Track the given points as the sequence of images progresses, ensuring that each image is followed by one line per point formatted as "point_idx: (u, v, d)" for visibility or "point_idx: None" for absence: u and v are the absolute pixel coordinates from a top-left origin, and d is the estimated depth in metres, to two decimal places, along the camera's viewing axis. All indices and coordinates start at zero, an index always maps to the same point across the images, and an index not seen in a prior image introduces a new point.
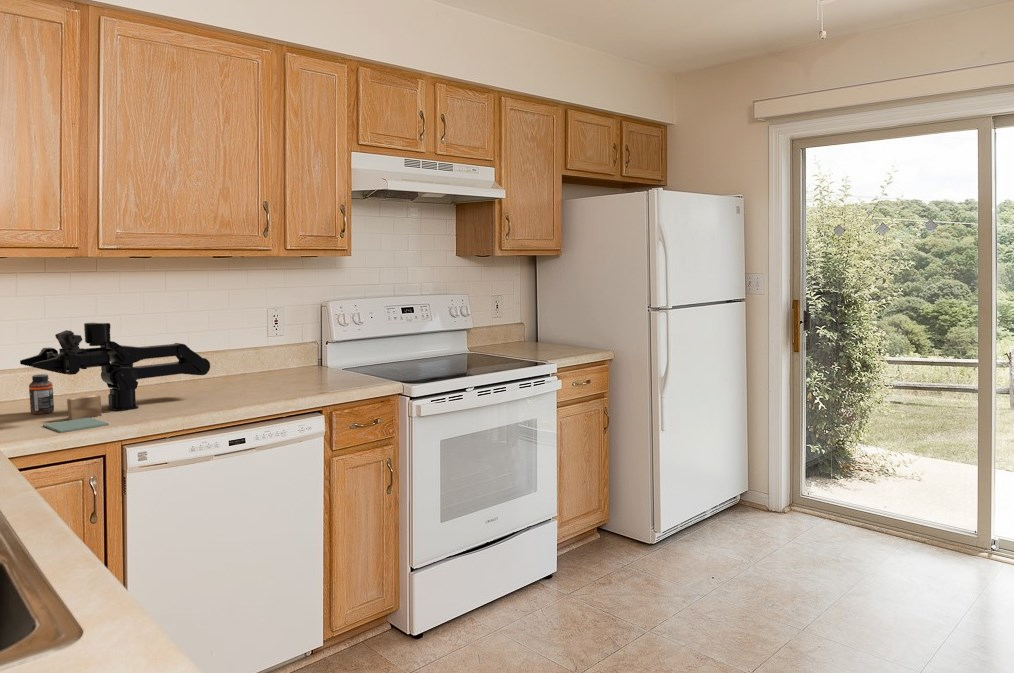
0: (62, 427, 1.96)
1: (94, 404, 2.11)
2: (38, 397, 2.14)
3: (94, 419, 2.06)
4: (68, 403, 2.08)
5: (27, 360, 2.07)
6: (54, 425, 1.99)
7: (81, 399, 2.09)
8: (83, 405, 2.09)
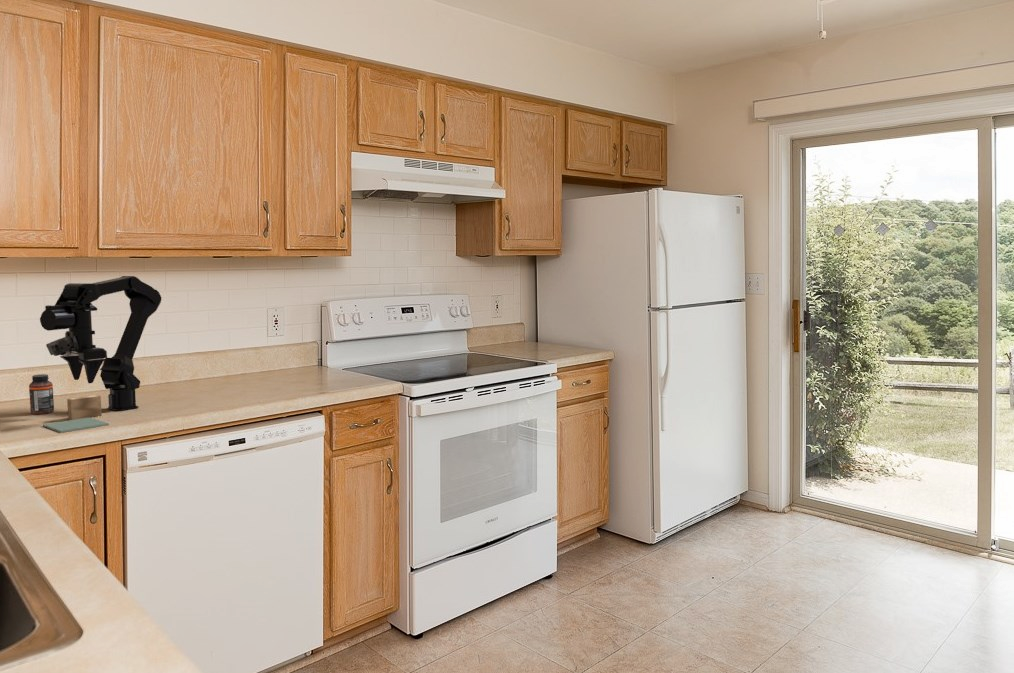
0: (62, 427, 1.96)
1: (94, 404, 2.11)
2: (38, 397, 2.14)
3: (94, 419, 2.06)
4: (68, 403, 2.08)
5: (75, 374, 2.12)
6: (54, 425, 1.99)
7: (81, 399, 2.09)
8: (83, 405, 2.09)
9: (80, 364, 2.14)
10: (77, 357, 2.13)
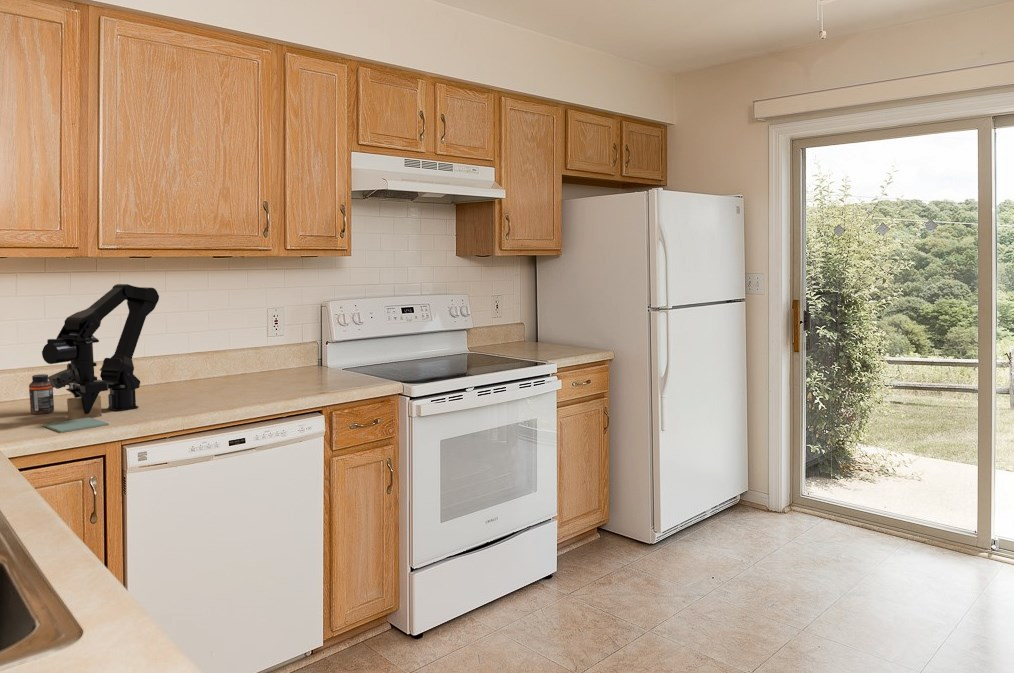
0: (62, 427, 1.96)
1: (94, 404, 2.11)
2: (38, 397, 2.14)
3: (94, 419, 2.06)
4: (68, 403, 2.08)
5: None
6: (54, 425, 1.99)
7: (81, 399, 2.09)
8: None
9: None
10: None
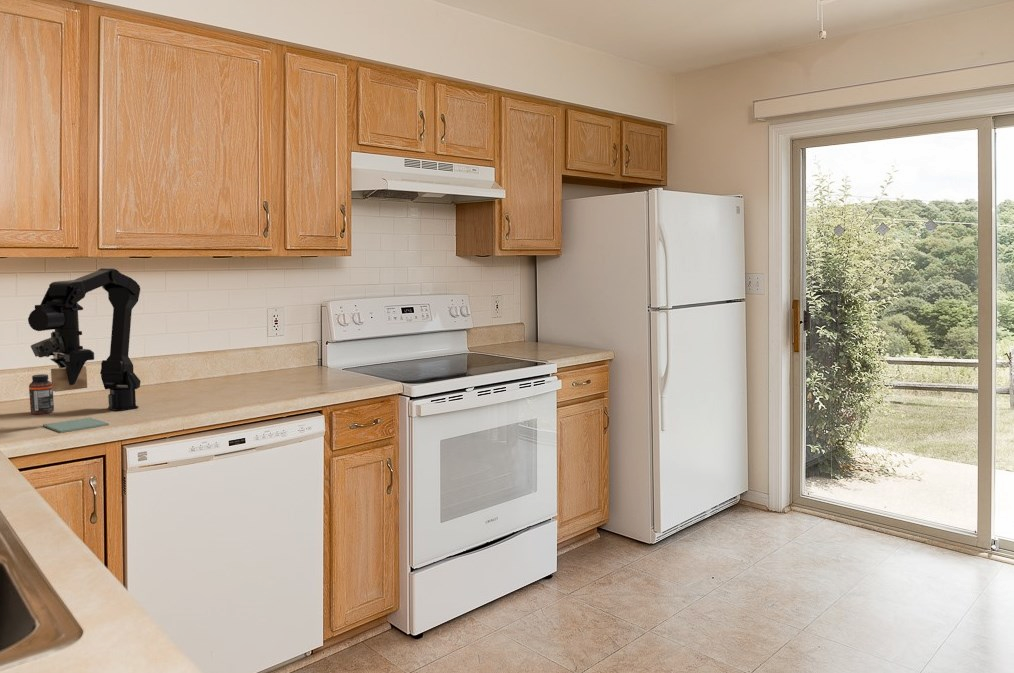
0: (62, 427, 1.96)
1: (79, 375, 2.02)
2: (38, 397, 2.14)
3: (94, 419, 2.06)
4: (52, 373, 1.98)
5: None
6: (54, 425, 1.99)
7: (65, 369, 1.99)
8: None
9: None
10: None
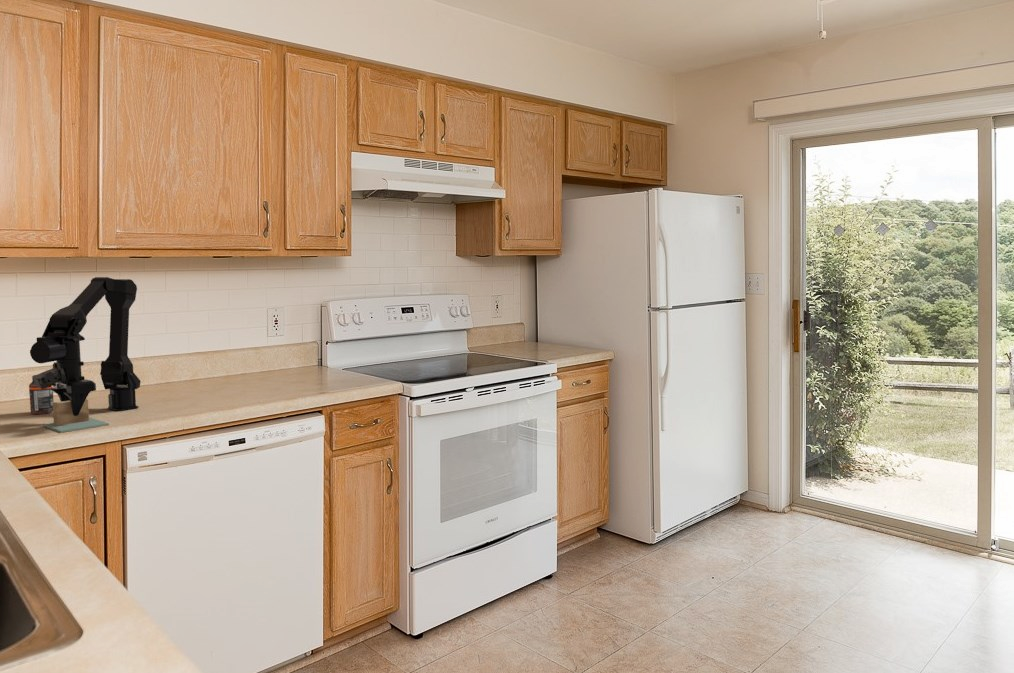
0: (62, 427, 1.96)
1: (81, 408, 2.03)
2: (38, 397, 2.14)
3: (94, 419, 2.06)
4: (53, 407, 1.99)
5: None
6: (54, 425, 1.99)
7: (67, 403, 2.00)
8: (69, 409, 2.00)
9: None
10: None
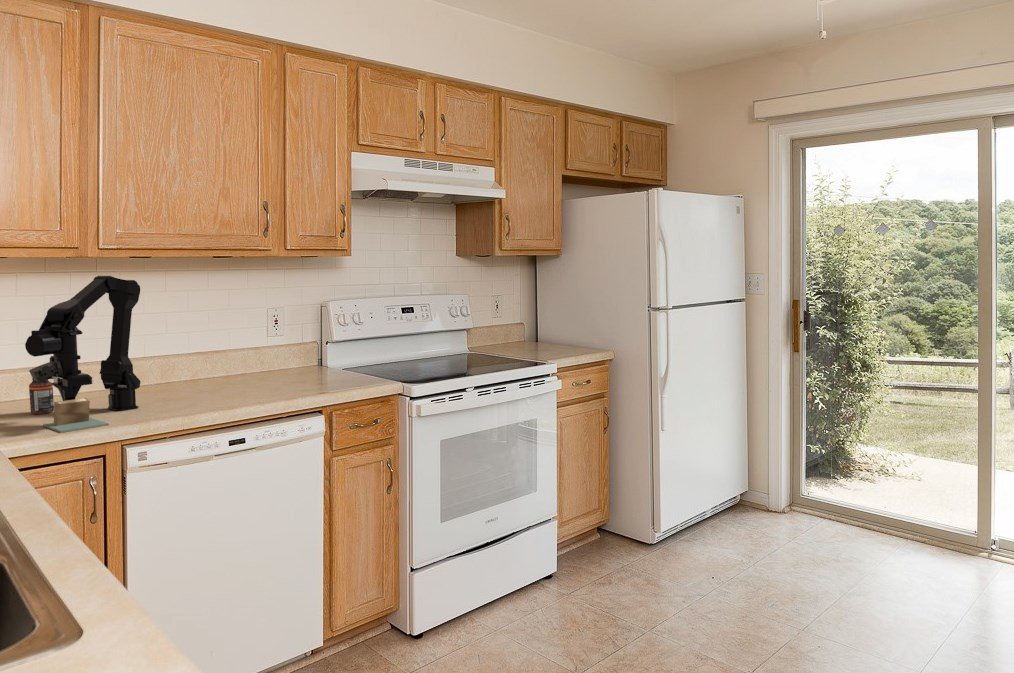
0: (62, 427, 1.96)
1: (82, 409, 2.02)
2: (38, 397, 2.14)
3: (94, 419, 2.06)
4: (55, 407, 1.98)
5: None
6: (54, 425, 1.99)
7: (69, 404, 1.99)
8: (70, 410, 2.00)
9: None
10: None
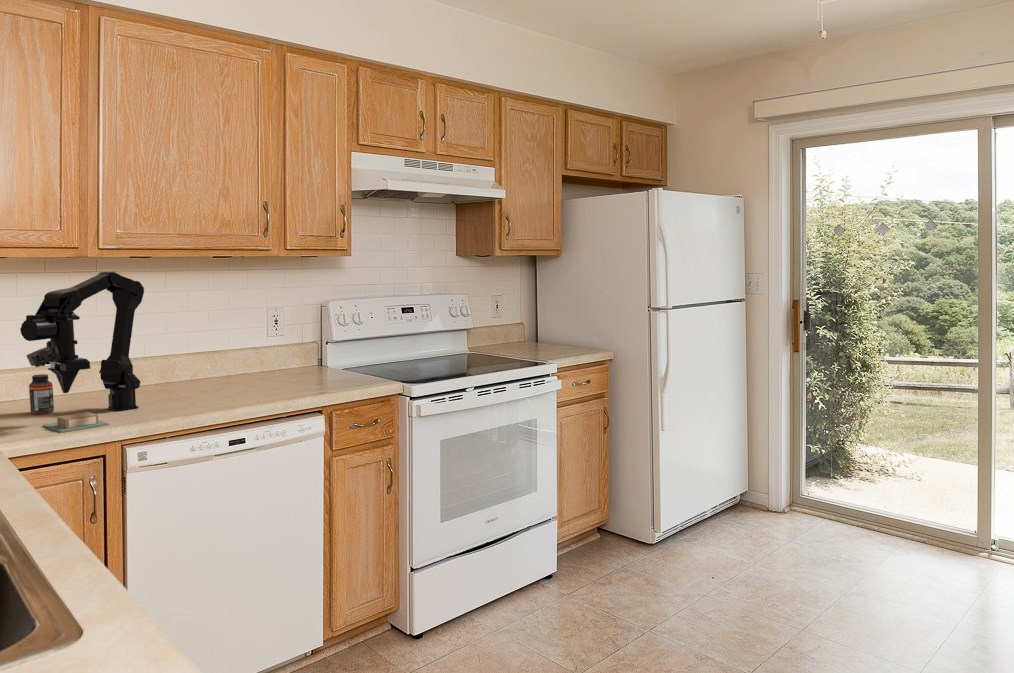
0: None
1: None
2: (38, 397, 2.14)
3: None
4: (64, 421, 1.95)
5: None
6: (54, 425, 1.99)
7: (77, 426, 1.97)
8: None
9: None
10: None
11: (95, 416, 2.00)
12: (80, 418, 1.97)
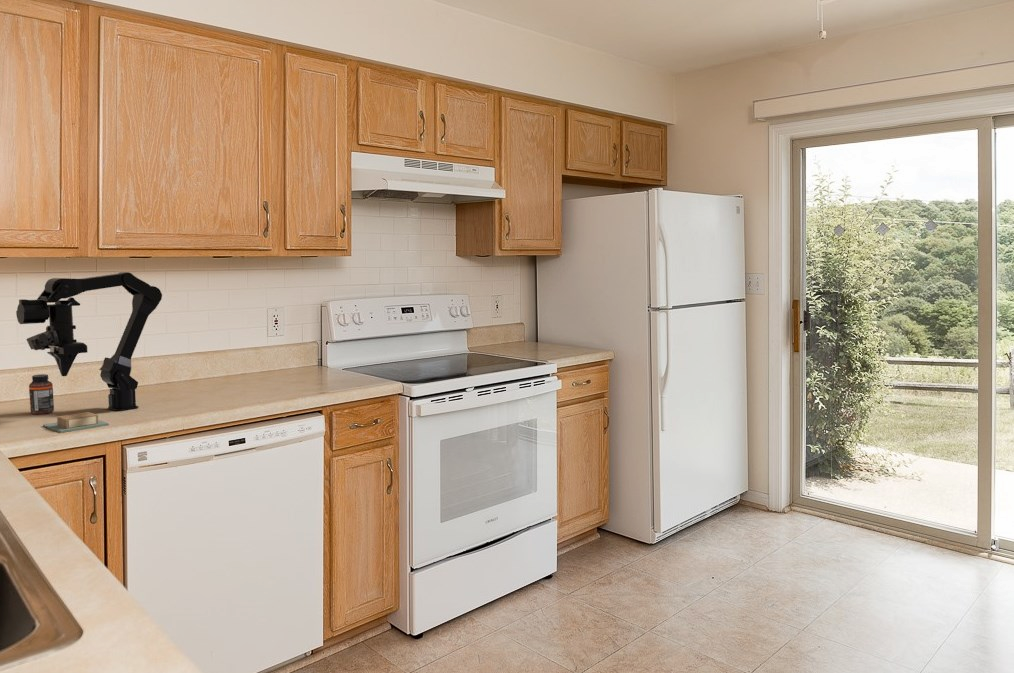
0: None
1: None
2: (38, 397, 2.14)
3: None
4: (64, 421, 1.95)
5: None
6: (54, 425, 1.99)
7: (77, 426, 1.97)
8: None
9: None
10: None
11: (95, 416, 2.00)
12: (80, 418, 1.97)
